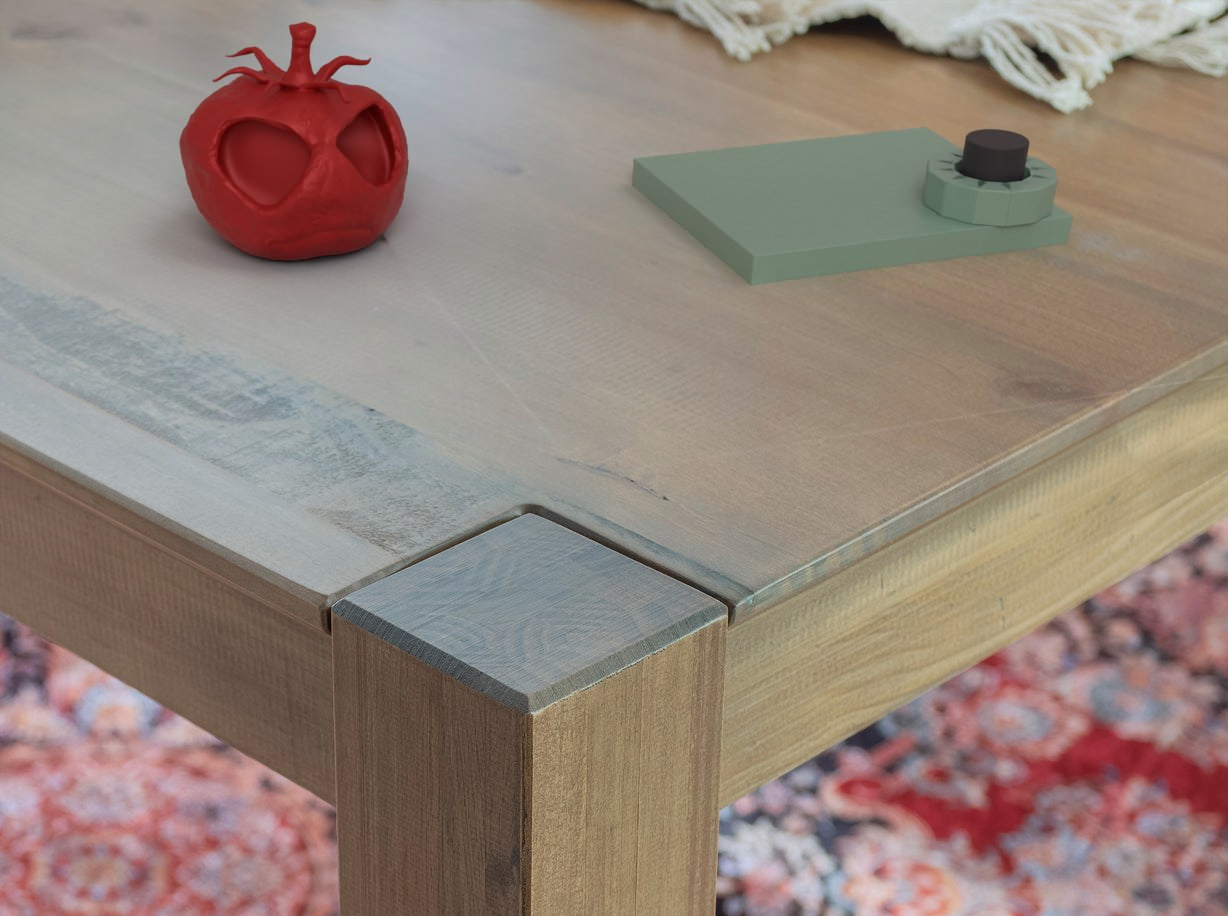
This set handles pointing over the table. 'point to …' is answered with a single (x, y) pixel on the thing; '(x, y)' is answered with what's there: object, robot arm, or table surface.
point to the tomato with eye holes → (295, 157)
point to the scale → (849, 204)
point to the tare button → (994, 155)
